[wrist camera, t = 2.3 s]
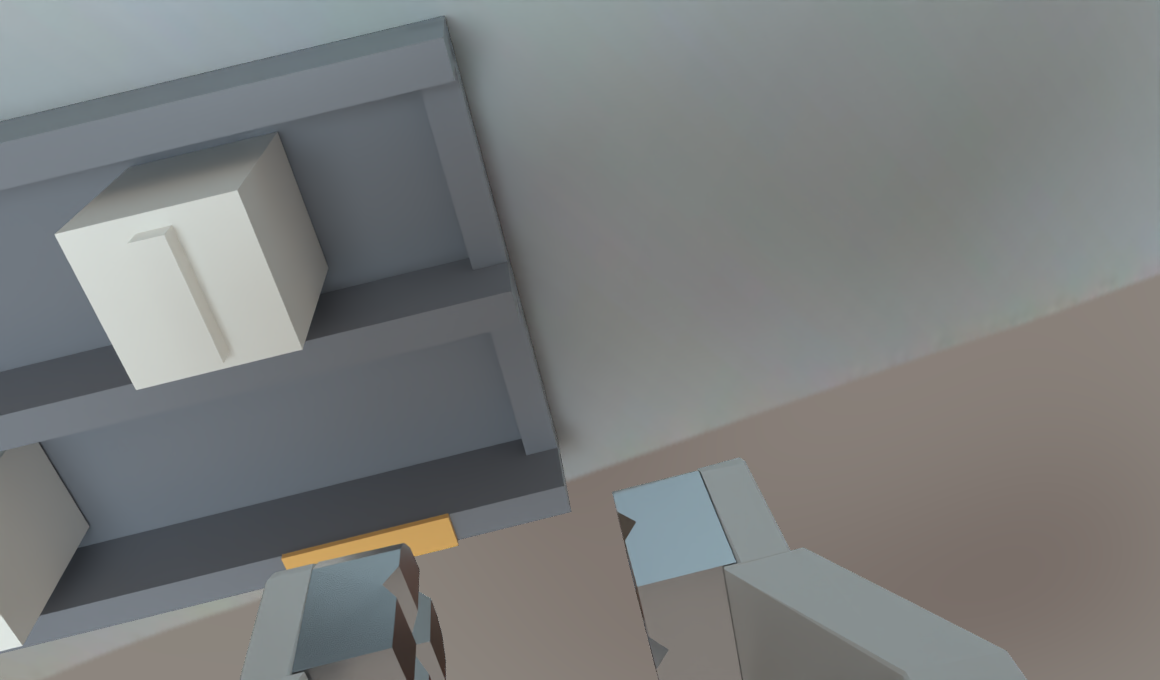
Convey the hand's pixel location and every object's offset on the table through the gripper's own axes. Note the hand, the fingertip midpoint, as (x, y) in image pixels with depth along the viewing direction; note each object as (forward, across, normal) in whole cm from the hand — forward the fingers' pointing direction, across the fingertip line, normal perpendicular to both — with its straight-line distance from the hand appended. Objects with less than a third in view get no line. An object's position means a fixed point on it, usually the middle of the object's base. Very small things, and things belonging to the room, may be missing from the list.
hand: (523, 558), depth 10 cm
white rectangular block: (+16, +7, 0) cm, 18 cm away
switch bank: (+17, +12, +3) cm, 21 cm away
